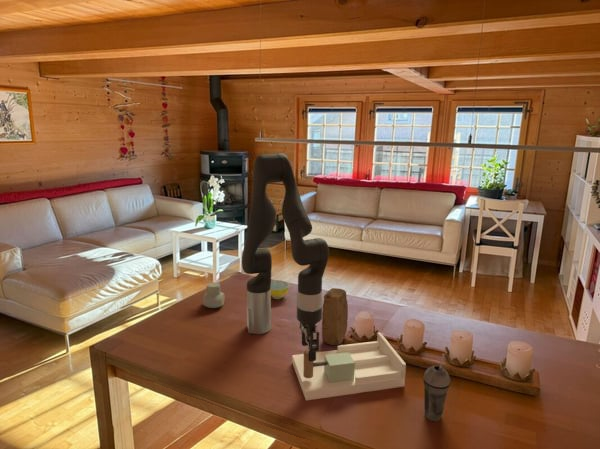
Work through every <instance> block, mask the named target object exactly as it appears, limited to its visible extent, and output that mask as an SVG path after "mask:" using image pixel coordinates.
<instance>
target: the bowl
mask: <svg viewBox="0 0 600 449" xmlns="http://www.w3.org/2000/svg"><path fill="white" fill-rule="evenodd" d="M289 289H290V283H289V282H287V281H284V280H280V279H278V280H277V279H275V280H271V299H275V300H280V299H282V297H284V296H285V295H286V294H287V293H288V292H289Z"/></svg>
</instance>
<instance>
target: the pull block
mask: <svg viewBox="0 0 600 449" xmlns="http://www.w3.org/2000/svg"><path fill="white" fill-rule="evenodd" d="M303 354H304V371H303V376H304V377H305V378H312V377H313V367H317V366H324V372H325V375H326V377H327V379H328V381H329V383H333V382H340V381H348V380H354V371H355V362H354V360H353V359H352V357H351V355H350V354H349V352H346V353H338V354H329V355H325V357H324V362H316V363H313V361H309V360H308V349H305V350H304V351H303Z"/></svg>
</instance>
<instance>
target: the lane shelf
mask: <svg viewBox="0 0 600 449" xmlns="http://www.w3.org/2000/svg"><path fill="white" fill-rule="evenodd" d="M376 337H377V340H375V341H367V342H358V343H350V344H349V343H348V344H339V345H337V349H333V350H326V351H316V360H315V361H313V363H316V362H324V357H325V355H329V354H338V353H346V352H349V354H350V355H351V357H352V359H353V360H354V362H355V371H354V380H348V381H340V382H333V383H329V381H328V379H327V377H326V375H325V372H324V366H317V367H313V377H312V378H305V377H304V376H303V371H304V353H300V354H292V358H291V360H292V366H293V369H294V371H295V374H296V377H297V379H298V383H299V385H300V388H301V391H302V393H303V396H304V399H305V401H311V400H319V399H327V398H332V397H339V396H340V397H341V396H346V395H355V394H360V393H367V392H368V393H369V392H374V391H382V390H388V389H395V388H403V387H405V382H406V369H407V364H406V362H405V361H404V359H403V358H402V357H401V356H400V354H398V352H397V351H396V350H395V349H394V348H393V346H392V345H391V343H389V341H388V340H387V338H386V337H385V336H384V335H383V334H382V332H377V336H376ZM378 347H379V348H378Z"/></svg>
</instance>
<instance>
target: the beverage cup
mask: <svg viewBox="0 0 600 449" xmlns="http://www.w3.org/2000/svg"><path fill="white" fill-rule="evenodd" d="M444 358H445V353H444V352H442V355H441V360H440V362H439V365H432V366H429V367H428V368H427V369H426V370H425V372H424V375H423V377H422V381H423V386H424V387H423V388H424V390H423V391H424V395H423V396H424V399H423V400H424V404H423V405H424V406H423V407H424V417H425V418H426V419H427V420H429V421H431V422H438V421H440V420H442V416H443V411H444V409H445V408H444V407H445V402H446V399H447V395H448V394H447V393H448V391H449V388H450V386H451V378H450V375H449V373H448V371H447V370H446V369H445V368H444V367H443V366H442V365H443V361H444Z"/></svg>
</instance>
